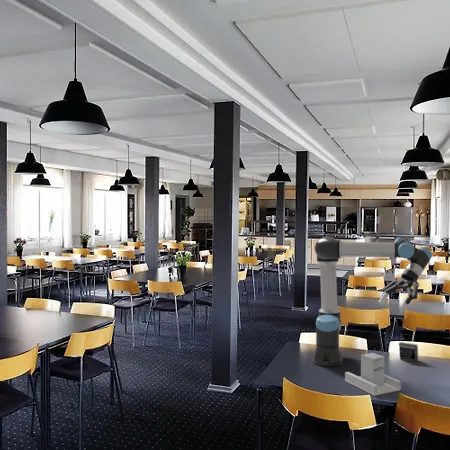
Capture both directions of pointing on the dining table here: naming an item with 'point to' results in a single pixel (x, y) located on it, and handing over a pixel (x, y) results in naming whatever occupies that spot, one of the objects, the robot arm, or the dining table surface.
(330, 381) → the dining table surface
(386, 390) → the tray
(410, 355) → the electrical switch
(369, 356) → the supplement box
